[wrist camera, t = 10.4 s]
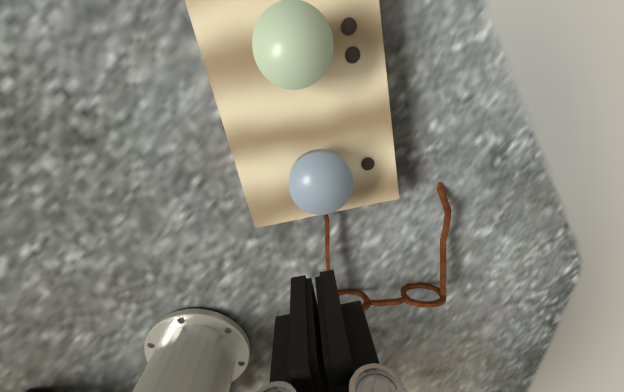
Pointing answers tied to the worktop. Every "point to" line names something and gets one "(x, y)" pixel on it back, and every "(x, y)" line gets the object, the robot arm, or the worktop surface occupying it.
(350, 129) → the wooden button board
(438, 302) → the glasses
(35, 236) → the worktop surface
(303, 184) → the slate-blue key
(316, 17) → the sage key
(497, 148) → the worktop surface
